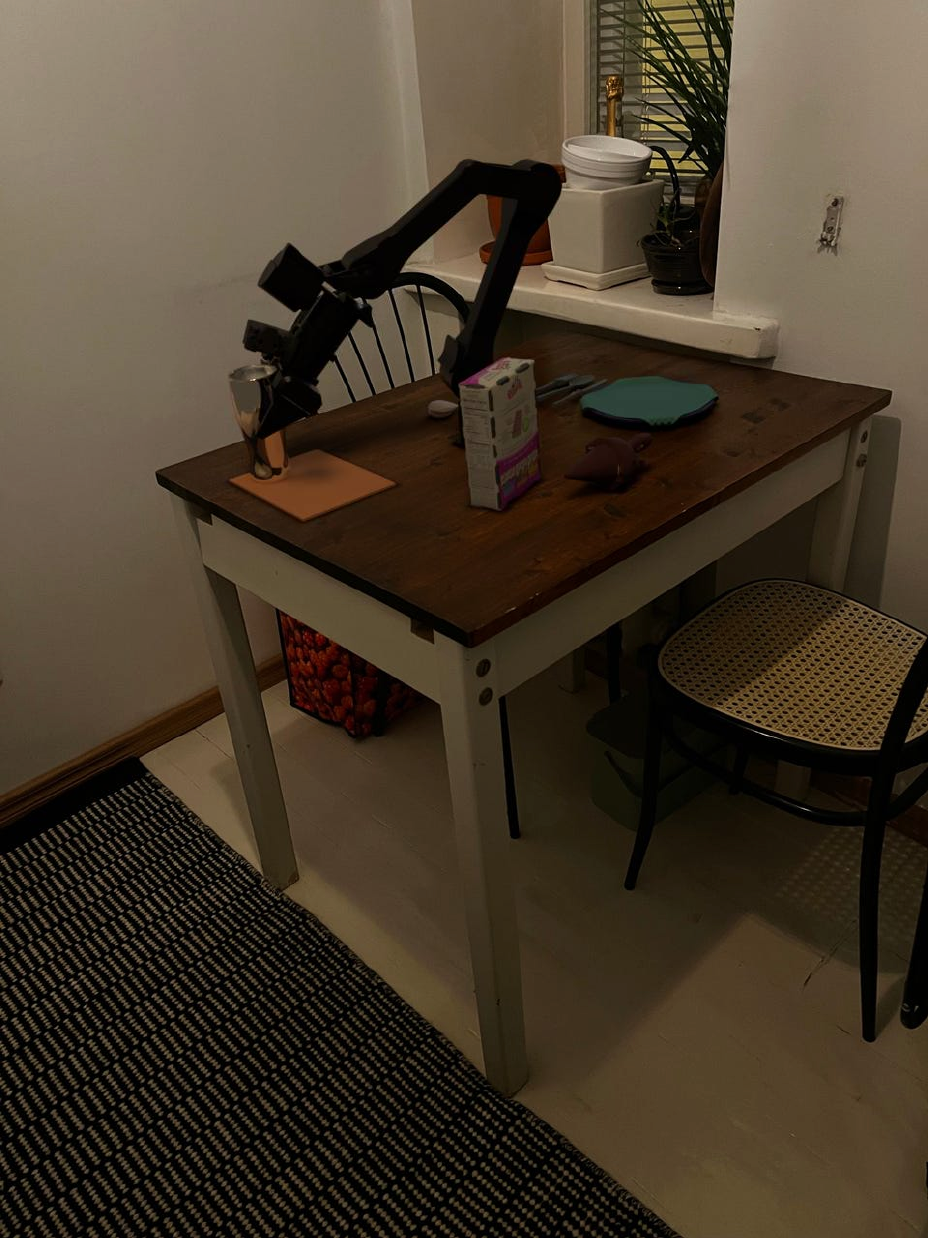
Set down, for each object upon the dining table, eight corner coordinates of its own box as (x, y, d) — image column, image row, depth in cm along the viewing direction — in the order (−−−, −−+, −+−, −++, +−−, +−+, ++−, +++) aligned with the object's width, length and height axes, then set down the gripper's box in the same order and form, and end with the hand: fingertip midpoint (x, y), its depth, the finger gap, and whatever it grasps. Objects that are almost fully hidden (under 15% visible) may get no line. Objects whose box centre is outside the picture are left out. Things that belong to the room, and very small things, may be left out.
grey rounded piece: (425, 414, 155) (424, 399, 153) (454, 409, 156) (453, 394, 154) (433, 422, 151) (432, 407, 150) (463, 416, 152) (462, 401, 151)
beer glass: (246, 468, 139) (225, 368, 131) (293, 460, 140) (275, 360, 132) (249, 488, 133) (227, 384, 125) (299, 479, 134) (280, 375, 126)
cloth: (396, 485, 131) (395, 482, 131) (303, 522, 123) (302, 519, 123) (317, 451, 144) (317, 448, 144) (229, 482, 137) (229, 479, 136)
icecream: (590, 466, 115) (674, 441, 123) (551, 437, 119) (634, 415, 127) (577, 514, 119) (659, 487, 127) (540, 484, 123) (621, 460, 131)
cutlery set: (667, 442, 136) (667, 426, 135) (509, 406, 155) (508, 392, 154) (739, 402, 148) (740, 387, 147) (584, 372, 167) (584, 359, 165)
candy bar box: (510, 474, 131) (502, 355, 122) (542, 479, 128) (537, 358, 120) (467, 506, 123) (456, 381, 115) (500, 512, 121) (492, 386, 112)
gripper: (263, 282, 131) (201, 374, 135) (279, 311, 116) (208, 414, 119) (329, 331, 137) (267, 418, 141) (352, 365, 121) (282, 462, 125)
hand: (255, 426), depth 131 cm, fingers open, 9 cm apart
